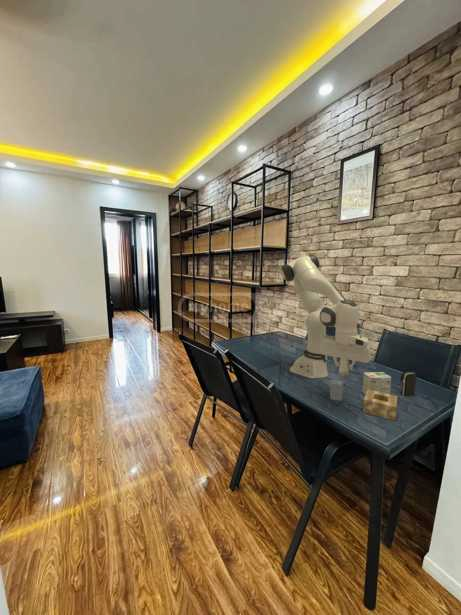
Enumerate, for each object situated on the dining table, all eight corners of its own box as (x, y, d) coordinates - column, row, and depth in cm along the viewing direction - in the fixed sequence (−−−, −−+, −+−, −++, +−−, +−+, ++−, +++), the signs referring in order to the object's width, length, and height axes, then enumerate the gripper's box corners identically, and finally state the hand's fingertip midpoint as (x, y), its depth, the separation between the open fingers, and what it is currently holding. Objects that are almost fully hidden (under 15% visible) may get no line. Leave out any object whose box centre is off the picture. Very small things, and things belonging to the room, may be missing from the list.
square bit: (330, 399, 125) (331, 383, 124) (330, 394, 130) (331, 379, 129) (341, 400, 124) (342, 385, 122) (340, 396, 128) (341, 381, 127)
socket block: (363, 412, 114) (364, 399, 113) (366, 400, 124) (367, 389, 123) (395, 420, 107) (396, 407, 106) (395, 408, 117) (397, 396, 116)
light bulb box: (381, 391, 134) (383, 371, 132) (390, 397, 127) (392, 377, 125) (361, 391, 133) (363, 371, 132) (369, 397, 127) (370, 377, 125)
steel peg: (337, 377, 114) (338, 356, 113) (339, 374, 118) (340, 353, 116) (347, 379, 112) (348, 357, 111) (348, 376, 115) (350, 355, 114)
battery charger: (408, 391, 134) (410, 370, 132) (415, 394, 130) (417, 373, 129) (397, 392, 132) (399, 371, 130) (404, 396, 128) (406, 374, 127)
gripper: (319, 335, 116) (318, 365, 118) (370, 343, 104) (368, 375, 106) (323, 333, 121) (322, 361, 123) (372, 339, 109) (370, 370, 111)
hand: (343, 367), depth 114 cm, fingers closed on steel peg, 4 cm apart
